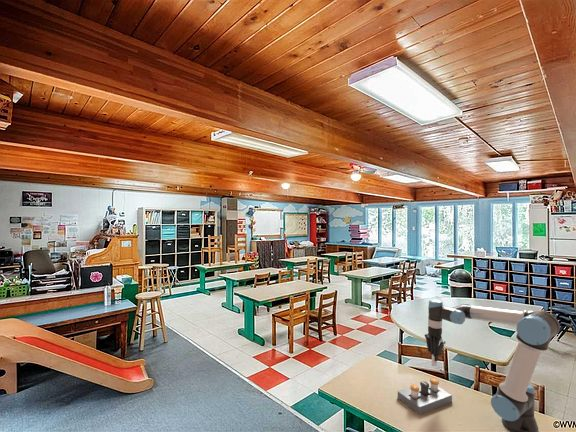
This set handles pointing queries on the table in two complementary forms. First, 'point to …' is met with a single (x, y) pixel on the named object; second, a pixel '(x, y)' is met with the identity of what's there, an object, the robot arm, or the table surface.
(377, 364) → the table surface
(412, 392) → the knob near
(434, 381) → the knob far
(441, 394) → the panel
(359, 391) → the table surface
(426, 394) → the dial
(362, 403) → the table surface
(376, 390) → the table surface
